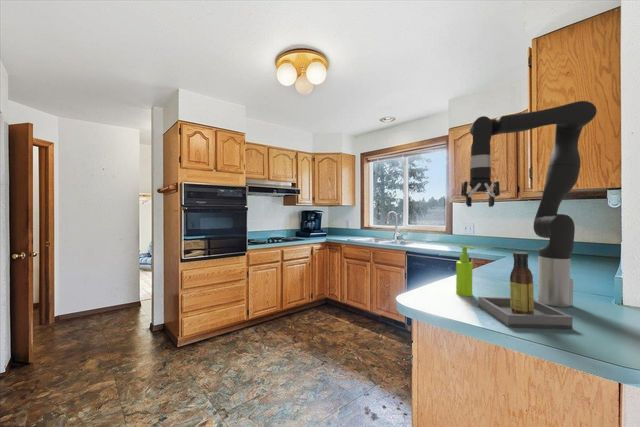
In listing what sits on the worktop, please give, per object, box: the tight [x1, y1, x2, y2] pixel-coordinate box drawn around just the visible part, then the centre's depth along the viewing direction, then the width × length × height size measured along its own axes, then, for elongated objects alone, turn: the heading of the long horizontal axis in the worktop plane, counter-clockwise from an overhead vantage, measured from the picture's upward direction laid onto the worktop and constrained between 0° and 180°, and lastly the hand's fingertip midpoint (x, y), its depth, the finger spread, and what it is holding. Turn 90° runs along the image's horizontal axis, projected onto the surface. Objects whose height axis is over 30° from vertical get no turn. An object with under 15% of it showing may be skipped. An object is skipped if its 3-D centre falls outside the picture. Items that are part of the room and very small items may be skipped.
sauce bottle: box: [509, 251, 535, 314], centre depth 92 cm, size 6×6×20 cm
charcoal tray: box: [477, 296, 573, 330], centre depth 92 cm, size 18×18×4 cm
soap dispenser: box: [455, 245, 476, 297], centre depth 117 cm, size 6×7×20 cm
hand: (480, 206), depth 117 cm, fingers open, 8 cm apart
